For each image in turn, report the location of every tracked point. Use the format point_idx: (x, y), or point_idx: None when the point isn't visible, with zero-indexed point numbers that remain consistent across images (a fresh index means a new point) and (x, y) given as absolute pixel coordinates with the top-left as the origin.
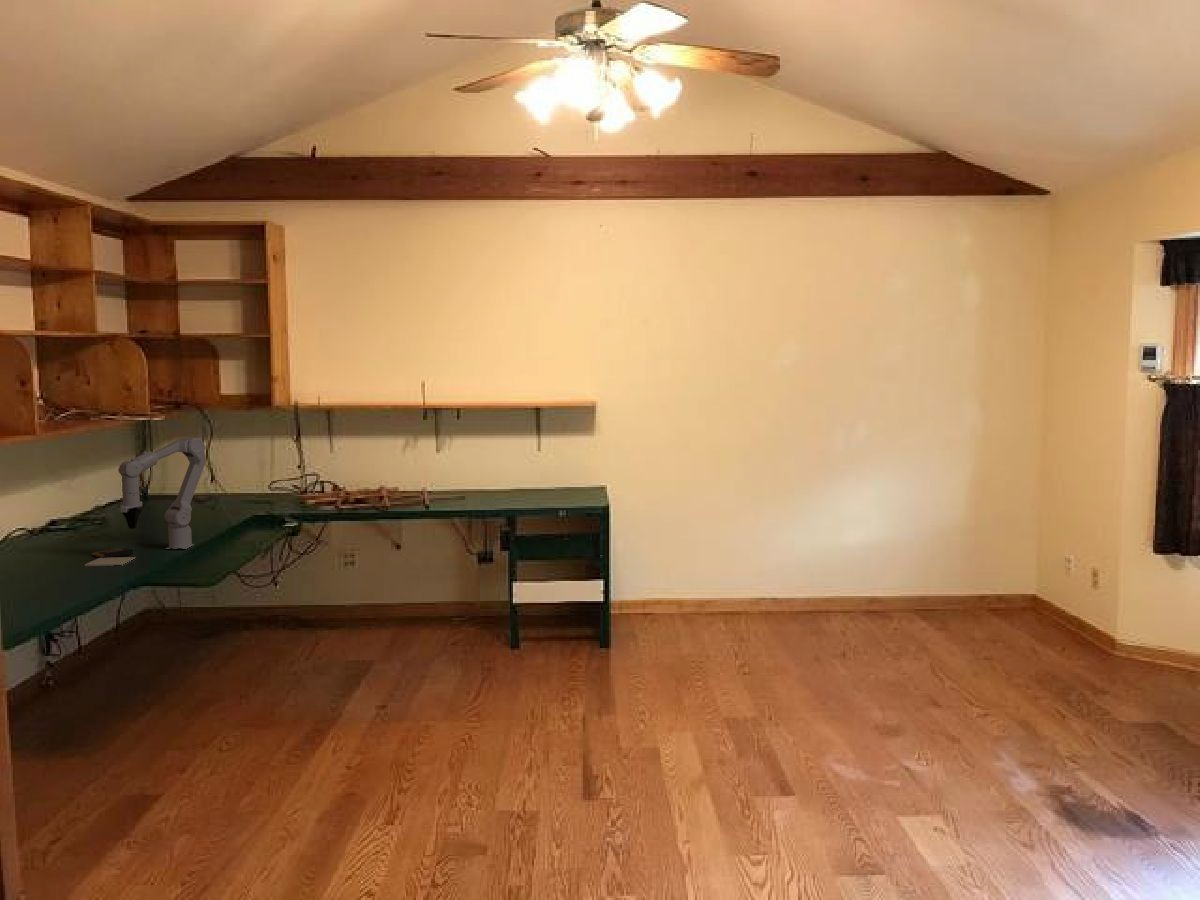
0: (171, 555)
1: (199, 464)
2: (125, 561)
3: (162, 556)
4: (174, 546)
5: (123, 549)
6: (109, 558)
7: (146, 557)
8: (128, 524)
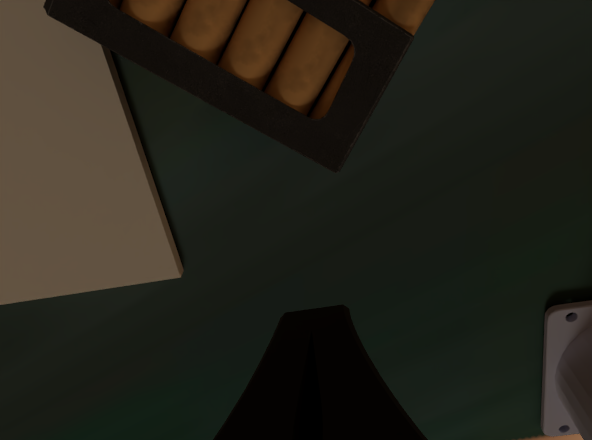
0: None
1: None
2: (14, 291)
3: None
4: (564, 384)
5: (354, 48)
6: (62, 79)
7: (252, 313)
8: (263, 369)
